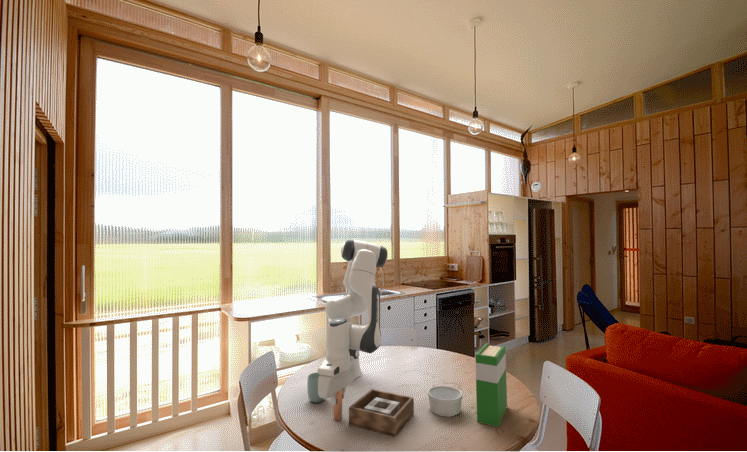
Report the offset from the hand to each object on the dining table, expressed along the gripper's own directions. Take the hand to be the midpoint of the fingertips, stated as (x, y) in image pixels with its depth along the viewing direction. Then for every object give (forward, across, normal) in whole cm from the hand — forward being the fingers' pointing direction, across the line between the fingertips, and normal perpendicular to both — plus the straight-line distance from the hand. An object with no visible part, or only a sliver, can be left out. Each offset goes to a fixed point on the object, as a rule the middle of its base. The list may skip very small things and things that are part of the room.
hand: (337, 401), depth 126 cm
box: (+6, -7, +15) cm, 18 cm away
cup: (+6, -9, -16) cm, 19 cm away
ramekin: (+6, -24, +34) cm, 42 cm away
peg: (+6, 0, 0) cm, 6 cm away
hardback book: (+6, -29, +51) cm, 59 cm away
